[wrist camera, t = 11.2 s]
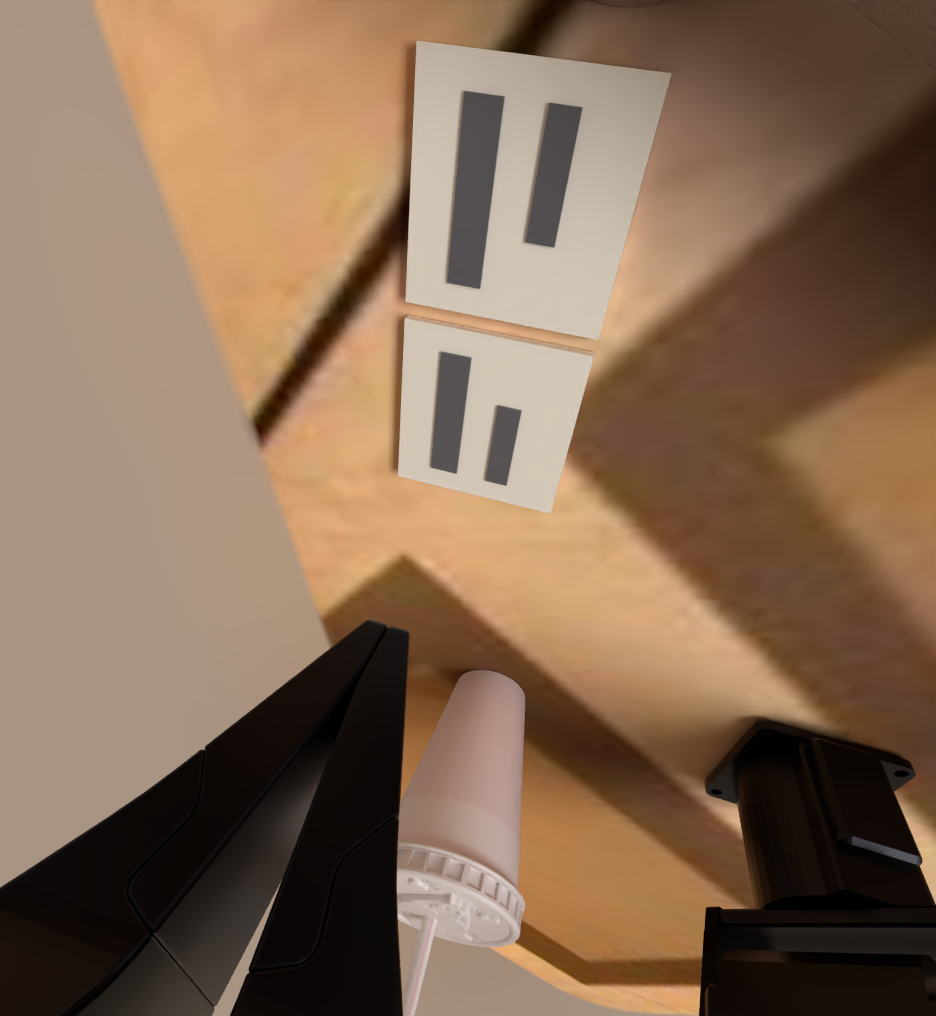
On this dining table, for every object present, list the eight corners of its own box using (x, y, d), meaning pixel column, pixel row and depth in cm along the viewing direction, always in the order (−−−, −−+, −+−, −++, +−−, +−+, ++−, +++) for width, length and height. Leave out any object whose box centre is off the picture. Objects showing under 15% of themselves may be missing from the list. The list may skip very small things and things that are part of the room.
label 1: (598, 336, 15) (598, 340, 15) (409, 298, 16) (404, 302, 15) (670, 75, 12) (672, 72, 11) (422, 43, 12) (415, 40, 12)
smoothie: (415, 692, 28) (281, 1040, 17) (463, 632, 24) (329, 1033, 13) (513, 743, 29) (445, 1115, 18) (576, 693, 25) (538, 1129, 14)
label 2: (551, 507, 19) (550, 515, 19) (401, 470, 20) (397, 477, 19) (594, 352, 15) (593, 357, 15) (409, 314, 16) (403, 318, 16)
